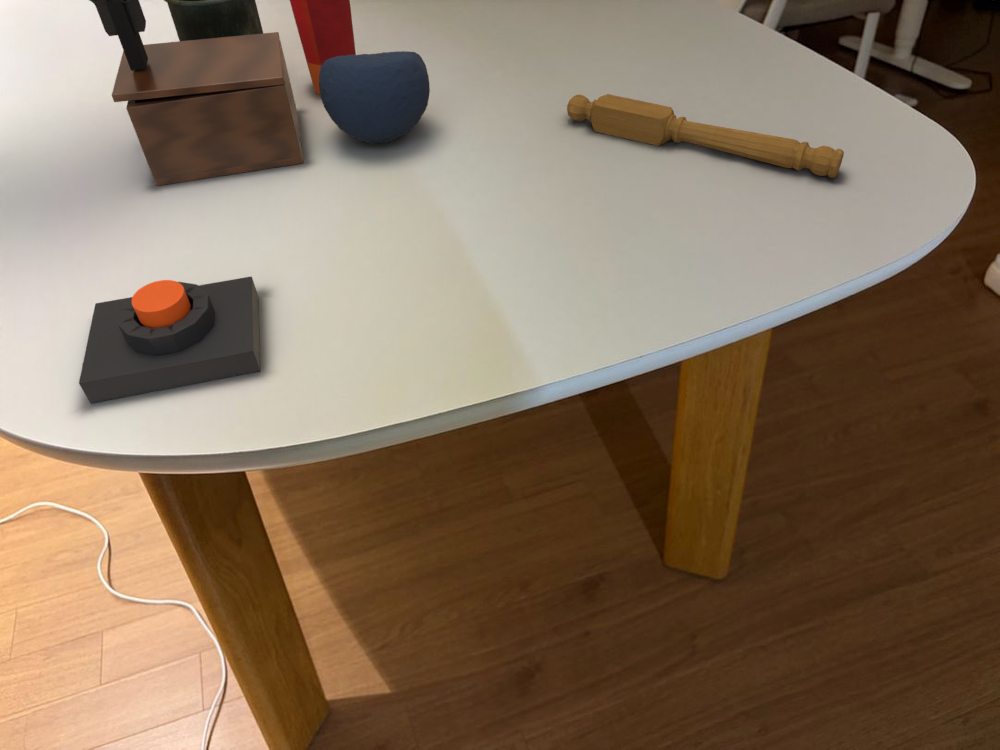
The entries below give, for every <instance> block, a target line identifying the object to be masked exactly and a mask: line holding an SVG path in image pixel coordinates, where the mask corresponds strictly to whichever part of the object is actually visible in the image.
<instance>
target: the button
mask: <svg viewBox="0 0 1000 750" xmlns="http://www.w3.org/2000/svg"><path fill="white" fill-rule="evenodd" d="M179 282H180V281H176V280H171V279H163V280H161V279H160V280H156V281H152V282H150V283H147V284H145V285H143V286H142V287H140V288H139V289H138V290H137V291H135V293H134V294H133V296H131V297H132V306H133V308H134V310H135V312H136V314H137V316H138V319H139V321H140V323H141V324H142V325H144V326H145V327H149V328H159V327H164V326H170V325H172V324H174V323H176V322H177V321H179V320H181V319H183V318H185V317H186V316H187V314H188V313H189V312H190V309H191V305H190V302H189V300H188V297H187V295H186V292H185V290H184V287H183V286H182V285H181V284H180V283H179Z"/></svg>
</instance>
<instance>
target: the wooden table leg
mask: <svg viewBox="0 0 1000 750" xmlns="http://www.w3.org/2000/svg"><path fill="white" fill-rule="evenodd" d="M566 111H567V115H568V116H569V118H570V119H572V120H574V121H576V122H582V121H584V120H585V119H587V120H588V121H589V122H590V123H591V127H592V129H593V130H594V132H596V133H601V134H604V135H609V136H613V137H618V138H621V139H622V138H623V139H627V140H630V141H631V140H632V141H636V142H640V143H644V144H649V145H652V146H661V145H664V144H666V143H667V142H670V141H671V139H672V141H673V142H674V143H677V144H680V143H681V142H685V143H686V142H687V143H690V144H694V145H698V146H702V147H705V148H709V149H714V150H717V151H721V152H725V153H729V154H733V155H735V156H740V157H744V158H747V159H752V160H755V161H759V162H763V163H766V164H770V165H773V166H778V167H781V168H785V169H792V168H793V169H795V170H796V171H798V172H800V171H801V170H802V169H806V168H807V169H809V170H810V172H811V173H813V174H814V175H817V176H827V177H829V178H831V179H834V178H836V177H837V175H838V173H839V171H840V169H841V165H842V163H843V158H844V155H845V152H844V150H843V149H842V148H837V149H835V148H833V147H831V146H829V145H821V146H817V147H811V146H810V143H809V142H808V141H802V142H800V141H799V140H797V139H795V138H789V137H784V136H778V135H777V136H776V135H770V134H766V133H760V132H754V131H748V130H743V129H737V128H730V127H725V126H720V125H712V124H706V123H701V122H695V121H691V120H690V121H688V120H687V117H685V116H680V117H678V118H677V115H676V114H675V112H674V111H675V110H674V109H673V107H671V106H669V105H668V106H667V105H663V104H658V103H653V102H649V101H645V100H644V101H643V100H640V99H639V100H638V99H634V98H630V97H624V96H620V95H614V94H610V93H606V94H603V95H601V96H599V97H598V98H597V99H594V100H593V101H590V100H589V98H588V97H586V96H585V95H583V94H575V95H573V96H572V97H571V98H569V101H568V102H567V105H566Z"/></svg>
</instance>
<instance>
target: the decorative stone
mask: <svg viewBox="0 0 1000 750" xmlns="http://www.w3.org/2000/svg"><path fill="white" fill-rule="evenodd" d="M429 78H430V77H429V72H428V68H427V65H426V63H425V61H424V60H423V58H422V56H421V55H420V54H419V53H417V52H415V51H408V50H407V51H406V50H405V51H398V50H397V51H386V52H385V51H383V52H377V53H361V54H356V55H346V56H336V57H333V58H330V59H328V60H326V61H324V63H323V64H322V66H321V69H320V73H319V89H320V95H319V96H320V99H321V103H322V105H323V107H324V109H325V112H326V114H328V116H329V118H330V119H331V120H332V122H333V123H334V124H335V125H336V126H337V127H338V129H340V130H341V131H342V132H344V133H345V134H347V135H348V136H350V137H351V138H354V139H356V140H359V141H362V142H365V143H370V144H377V145H378V144H385V143H389V142H392V141H395V140H396V139H397V138H399V137H402V136H404V135H405V136H406V134H408V133H409V132H410V131H412V130H413V129H414V127H415V126H417V124H418V123H419V122H420V121H421V119H422V117H423V115H424V114H425V112H426V110H427V107H428V105H429V98H430V93H431V89H430V79H429Z"/></svg>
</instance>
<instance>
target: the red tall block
mask: <svg viewBox="0 0 1000 750" xmlns="http://www.w3.org/2000/svg"><path fill="white" fill-rule="evenodd" d="M289 3H290V6H291V11H292V14H293V18H294V22H295V25H296V29H297V33H298V36H299V40H300V43H301V47H302V51H303V55H304V58H305V62H306V65H307V68H308V72H309V75H310V80H311V83H312V85H313V89H314V92H315V93H316V94H318V95H319V96H321V95H320V89H319V73H320V69H321V66H322V64H323V63H324V61H326V60H328V59H330V58H333V57H336V56H346V55H357V54H356V43H355V35H354V27H353V26H354V25H353V19H352V18H353V17H352V9H351V1H350V0H289Z"/></svg>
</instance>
